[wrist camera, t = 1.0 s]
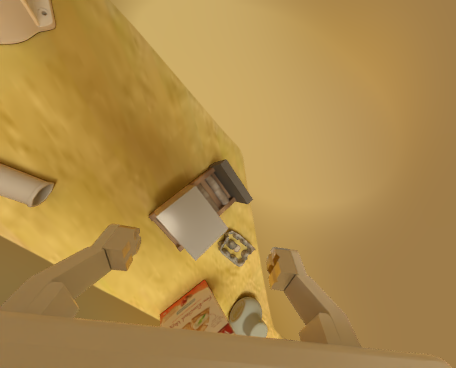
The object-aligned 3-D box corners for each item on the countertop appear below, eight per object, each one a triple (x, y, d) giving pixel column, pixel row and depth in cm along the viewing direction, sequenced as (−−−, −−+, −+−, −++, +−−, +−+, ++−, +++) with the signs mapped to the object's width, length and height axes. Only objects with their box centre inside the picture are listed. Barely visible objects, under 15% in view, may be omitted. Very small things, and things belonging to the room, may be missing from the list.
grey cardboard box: (187, 247, 45) (195, 260, 37) (154, 210, 41) (156, 216, 34) (216, 221, 48) (228, 228, 41) (187, 184, 44) (195, 185, 37)
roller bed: (179, 248, 47) (186, 263, 39) (147, 213, 43) (147, 221, 35) (237, 196, 54) (252, 199, 46) (213, 162, 51) (226, 159, 43)
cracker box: (203, 277, 50) (237, 336, 31) (212, 293, 51) (250, 358, 32) (157, 313, 45) (165, 410, 26) (169, 330, 46) (184, 433, 27)
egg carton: (250, 245, 57) (257, 249, 53) (236, 264, 55) (243, 270, 51) (228, 226, 54) (235, 229, 50) (213, 246, 51) (218, 251, 48)
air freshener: (239, 331, 55) (257, 360, 46) (222, 320, 53) (237, 349, 44) (258, 300, 59) (278, 322, 49) (243, 288, 56) (261, 309, 47)
